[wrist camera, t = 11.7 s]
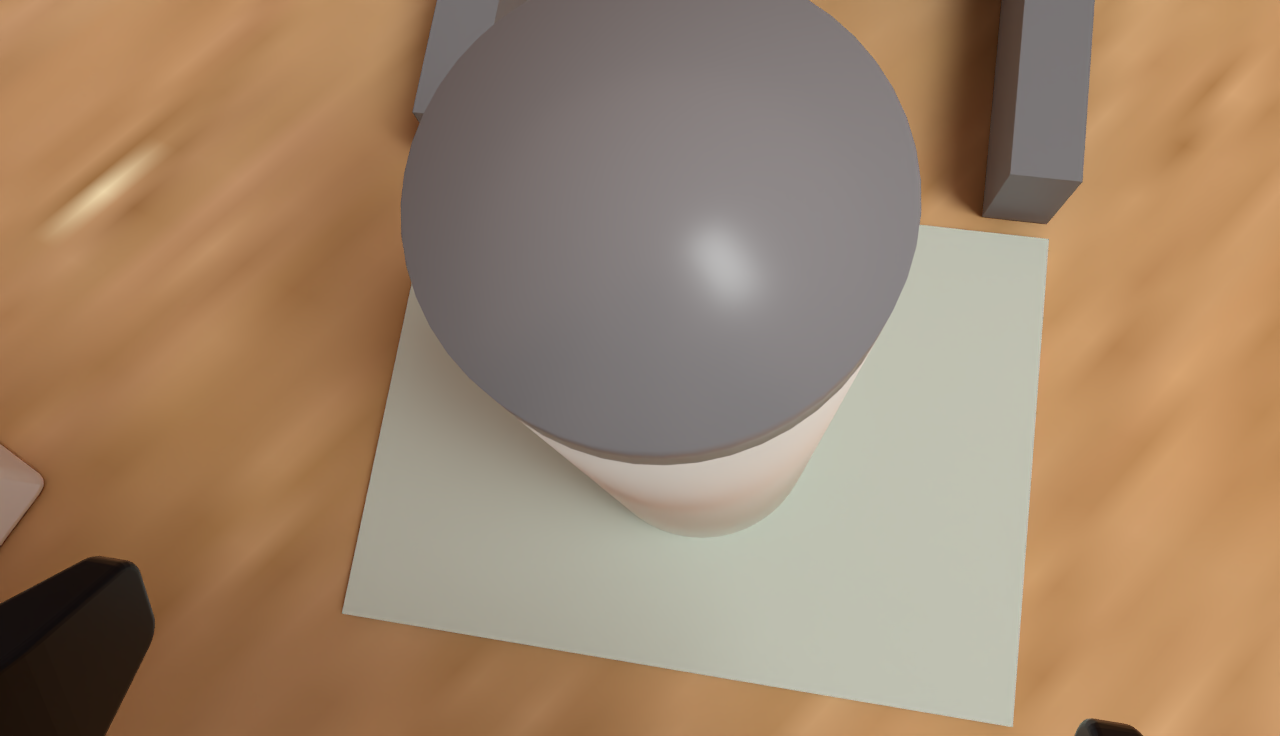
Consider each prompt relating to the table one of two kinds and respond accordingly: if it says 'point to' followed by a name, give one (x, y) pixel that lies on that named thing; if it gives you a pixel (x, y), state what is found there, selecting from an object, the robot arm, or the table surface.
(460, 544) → the sage mat
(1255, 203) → the table surface
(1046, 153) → the dispenser rack
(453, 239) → the grey capped tube
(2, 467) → the medicine bottle
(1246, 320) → the table surface
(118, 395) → the table surface
